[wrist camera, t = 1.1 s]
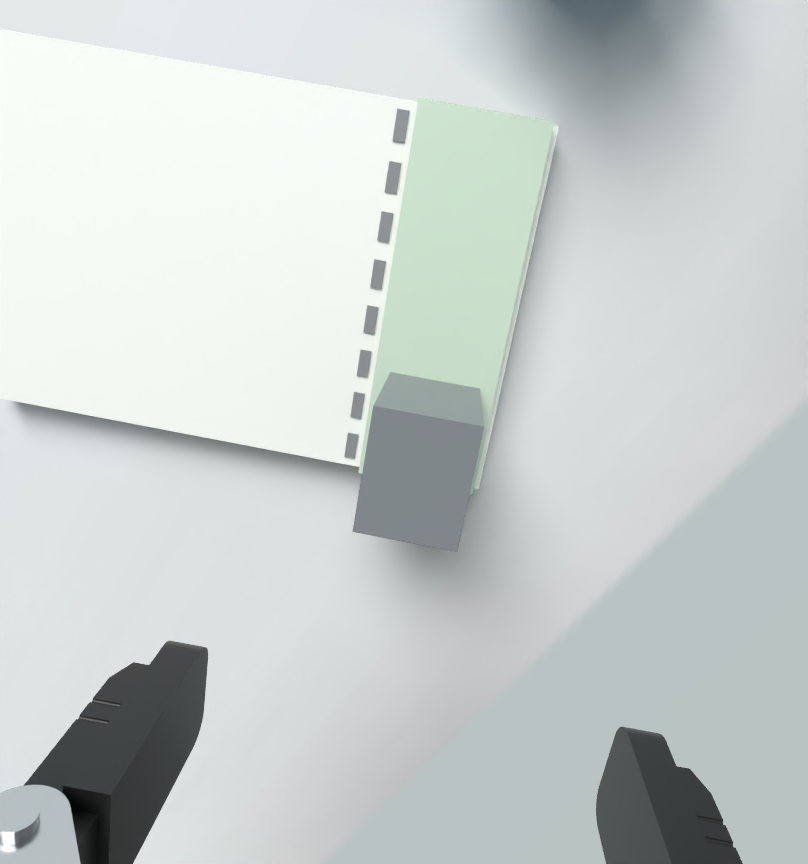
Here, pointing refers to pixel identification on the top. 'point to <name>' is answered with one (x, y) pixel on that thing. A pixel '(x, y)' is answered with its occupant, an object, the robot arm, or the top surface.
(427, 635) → the top surface
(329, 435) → the ticket board
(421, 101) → the stub
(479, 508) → the top surface
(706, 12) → the top surface
